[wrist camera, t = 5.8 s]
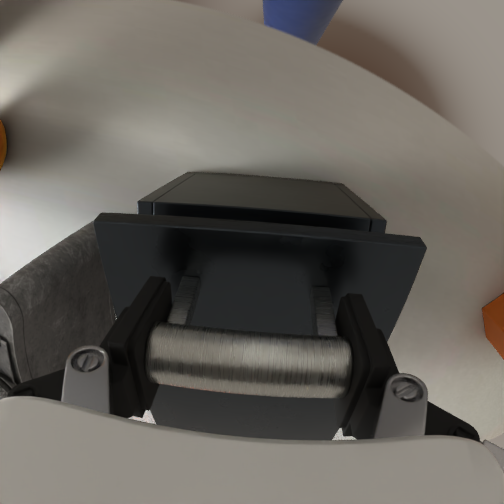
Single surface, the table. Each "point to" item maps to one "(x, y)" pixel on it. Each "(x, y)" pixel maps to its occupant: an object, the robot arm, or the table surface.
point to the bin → (263, 201)
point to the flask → (53, 309)
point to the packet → (495, 323)
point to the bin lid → (253, 315)
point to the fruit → (2, 144)
